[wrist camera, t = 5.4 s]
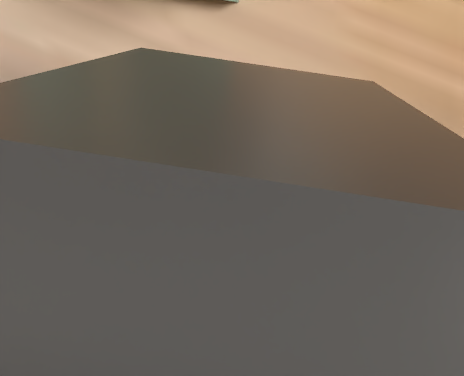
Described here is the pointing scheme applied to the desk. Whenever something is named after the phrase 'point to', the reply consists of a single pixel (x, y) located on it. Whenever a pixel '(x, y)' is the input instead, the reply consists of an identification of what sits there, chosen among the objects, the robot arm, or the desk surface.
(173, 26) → the desk surface
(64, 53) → the desk surface
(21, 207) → the block
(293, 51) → the desk surface
